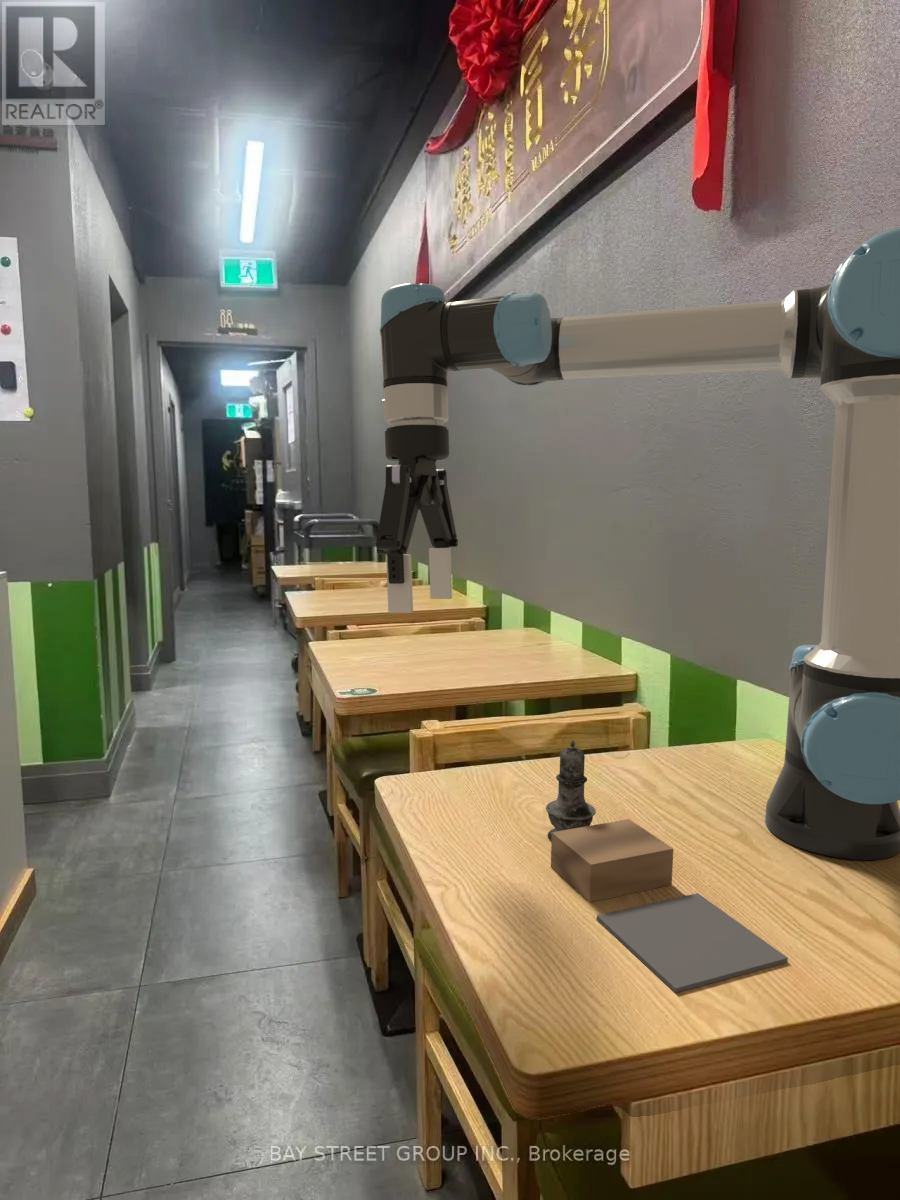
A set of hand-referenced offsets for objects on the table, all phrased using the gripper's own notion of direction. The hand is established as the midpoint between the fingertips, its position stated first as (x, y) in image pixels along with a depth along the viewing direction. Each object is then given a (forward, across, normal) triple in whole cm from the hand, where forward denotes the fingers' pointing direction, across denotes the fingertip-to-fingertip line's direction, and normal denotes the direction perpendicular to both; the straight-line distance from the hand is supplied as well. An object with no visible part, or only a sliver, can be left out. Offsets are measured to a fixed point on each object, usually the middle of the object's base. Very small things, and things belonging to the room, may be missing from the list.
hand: (422, 605), depth 95 cm
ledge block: (+28, +6, +23) cm, 37 cm away
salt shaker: (+28, -2, +17) cm, 33 cm away
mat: (+29, +16, +31) cm, 46 cm away
